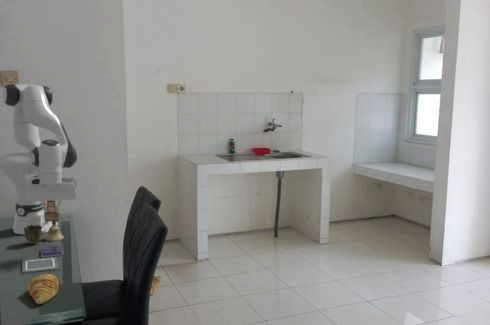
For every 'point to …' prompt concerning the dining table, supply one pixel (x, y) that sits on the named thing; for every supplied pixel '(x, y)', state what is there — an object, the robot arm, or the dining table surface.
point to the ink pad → (52, 251)
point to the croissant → (43, 287)
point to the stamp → (51, 212)
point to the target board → (39, 265)
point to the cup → (33, 233)
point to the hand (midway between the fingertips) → (51, 210)
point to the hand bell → (54, 233)
